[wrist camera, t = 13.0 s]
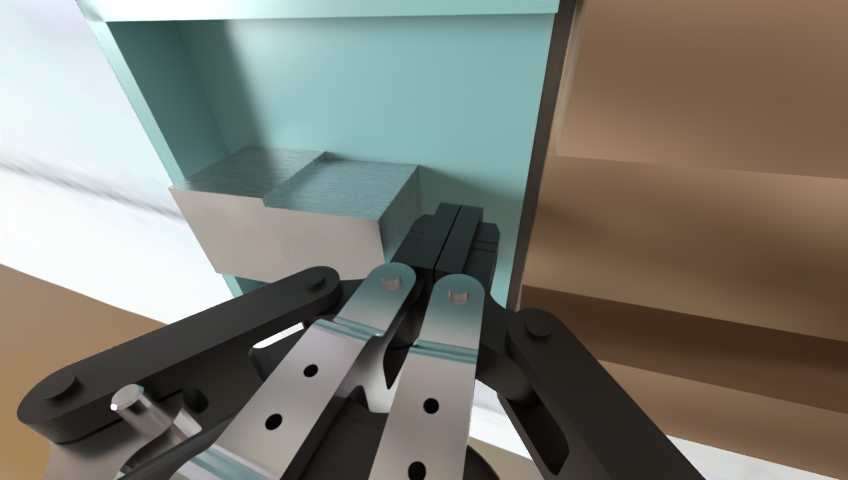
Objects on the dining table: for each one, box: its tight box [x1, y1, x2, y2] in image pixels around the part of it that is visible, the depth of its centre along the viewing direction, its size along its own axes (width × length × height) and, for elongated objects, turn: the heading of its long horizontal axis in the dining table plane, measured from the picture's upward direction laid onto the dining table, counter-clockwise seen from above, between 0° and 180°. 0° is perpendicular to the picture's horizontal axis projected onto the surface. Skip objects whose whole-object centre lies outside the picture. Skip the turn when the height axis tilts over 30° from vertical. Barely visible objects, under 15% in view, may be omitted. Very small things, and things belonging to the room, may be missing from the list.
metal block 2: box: [265, 158, 422, 280], centre depth 13 cm, size 4×4×4 cm
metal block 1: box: [168, 146, 327, 283], centre depth 14 cm, size 4×4×4 cm
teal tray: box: [75, 0, 560, 308], centre depth 14 cm, size 14×14×3 cm
